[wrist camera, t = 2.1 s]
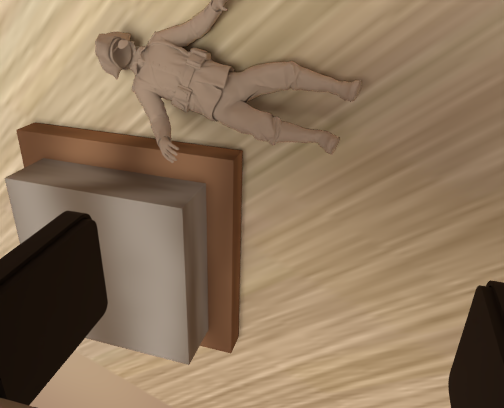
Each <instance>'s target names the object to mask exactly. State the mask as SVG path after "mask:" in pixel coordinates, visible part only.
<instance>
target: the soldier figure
mask: <svg viewBox="0 0 504 408" xmlns="http://www.w3.org/2000/svg"><path fill="white" fill-rule="evenodd" d="M226 2H227V0H212V1H211V2H210V3H209V4H208V5H207V6H206V7H205V8H204V9H203V10H202V11H201V12H199V13H198V14H197V15H195V16H194V17H193V18H192V19H190V20H188V21H187V22H185V23H183V24H181V25H176V26H174V27H171V28H167V29H164V30H162V31H158V32H156V31H155V32H154V34H153V35H152V37H151V39H150V40H149V42H148V45H146V46H142V47H140V46H139V47H138V46H137V47H138V49H137V52H136V48H137V47H135V45H134V44H133V42H134V41H132V42H131V41H130V37H131V34H130V33H121V32H110V33H107V34H99V35H98V38H97V39H96V41H95V45H96V48H95V53H96V55H97V57H98V59H99V62H100V64H101V66H102V68H103V69H104V70H105V71H106V72H107V73H109V74H111V75H113V76H114V77H115V78H116V79H118V77H119V73H120V71H121V70H122V69H124V70H127V69H131V70H132V71H133V72H134V74H135V79H134V82H133V86H132V91H133V92H134V93H135V94H136V96H137V98H138V100H139V101H140V103H141V105H142V106H143V108H144V111H145V113H146V114H147V116H148V117H149V120H150V123H151V128H152V130H153V132H154V135H155V138H156V141H157V144H158V146H159V148H160V150H161V152H162V155H163V156H164V158H166V159H167V160H168V161H170V162H171V163H174V161H177V159H176V158H175V157H174V156H173V155H172V154H174V155H176V156H177V153H176V152H175V151H174V150H172V149H171V147H172V148H174V149H176V150H179V148H178V147H177V146H175V145H173V144H172V141H171V125H170V122H169V117H168V115H167V113H166V109H165V107H164V103H163V101H162V100H161V98H165V99H168V100H172V105H174V106H176V107H178V108H179V109H181V110H183V111H184V112H187V111H188V110H189V109H190V110H192V111H193V112H197V113H200V114H203V115H204V116H205V117H207V118H208V119H210V120H212V121H219V122H220V123H222V124H223V125H225V126H227V127H230V128H232V129H235V130H237V131H238V132H241V133H245V134H252V135H253V136H254V138H256V139H257V140H262V141H269V143H270V144H271V145H275V144H276V143H278V142H302V143H308V142H312V143H313V142H316V143H318V144H319V145H320V146H321V147H322V148H324V150H325V151H326V152H327V153H330V154H333V152H334V151H335V149H336V147H337V145H338V143H339V140H340V137H338V138H337V136H336V135H333V134H332V133H329V132H328V131H322V130H314V129H306V128H303V127H300V126H298V125H295V124H292V123H288V122H284V121H282V120H281V119H280V118H279V117H273V115H272V114H271V113H268V112H264V111H260V110H258V109H254V108H252V107H251V106H250V105H249V104H247V103H246V102H247V101H249V100H251V99H253V98H256V97H258V96H261V95H262V94H268V93H273V92H277V91H279V90H288V89H289V88H290V87H291V88H292V90H307V91H317V92H330V93H332V94H336V95H339V96H340V98H342V99H344V100H348V101H350V102H351V101H354V100H355V99H356V97H357V95H358V93H359V91H360V89H361V86H362V81H358V80H355V81H353V82H347V81H337V80H336V79H333V78H332V77H329V76H325V75H322V74H319V73H316V72H314V71H311V70H309V69H307V68H304V67H301V66H299V65H298V64H296V63H295V62H293V61H289V62H271V63H264V64H260V65H256V66H252V67H250V68H248V69H246V70H244V71H242V72H238V73H237V72H235V70H234V68H233V67H231V66H228V65H222V64H219V63H216V62H214V61H212V60H211V53H210V52H207V51H204V50H201V49H198V48H192V49H191V52H190V51H189V52H188V51H186V50H185V49H183V48H182V47H185V46H188V45H189V44H190V43H192V42H194V41H195V40H196V39H200V38H201V37H203V35H204V34H206V33H207V32H208V31H209V30H210V28H211V27H212V25H213V24H214V23H215V21H216V20H217V18H218V16H219V15H220V14H221V13H222V12H223V11H227V8H225V7H224V5H225V3H226ZM243 101H244V102H243ZM173 160H174V161H173Z"/></svg>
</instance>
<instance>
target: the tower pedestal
mask: <svg viewBox="0 0 504 408" xmlns="http://www.w3.org/2000/svg"><path fill="white" fill-rule="evenodd" d="M17 135H18V140H19V145H20V149H21V154H22V159H23V164H24V168H23V169H22V170H20V171H18V172H16V173H14V174H12V175H10V176H8V177H6V178H5V181H6V186H7V190H8V194H9V198H10V203H11V207H12V211H13V216H14V220H15V224H16V228H17V233H18V237H19V241H20V244H21V243H23V242H24V241H25V240H27V239H28V238H29V237H31V236H32V235H33V234H35V233H36V232H37V231H39V230H40V229H41V228H43V227H44V226H45V225H47V224H48V223H49V222H51V221H52V220H53V219H55V218H56V217H57V216H59V215H60V214H61V213H63V212H65V211H75V212H81V213H87V214H89V215H90V216H91V218H92V220H94V221H95V222H96V224H97V229H98V236H99V243H100V250H101V257H102V264H103V271H104V278H105V285H106V292H107V299H108V305H107V309H106V312H105V314H104V315H103V317H102V318H101V319H100V320H99V321H98V323H97V324H96V325H95V326H94V327H93V329H92V330H91V331H90V332H89V334H88V335H87V336H86V337H85V338H87V339H91V340H95V341H99V342H103V343H107V344H110V345H114V346H118V347H122V348H126V349H130V350H134V351H137V352H141V353H145V354H149V355H153V356H157V357H161V358H164V359H168V360H172V361H176V362H180V363H184V364H188V365H189V364H190V362H191V360H192V359H193V357H194V355H195V353H196V351H197V349H198V348H199V346H204V347H208V348H212V349H216V350H220V351H224V352H228V353H231V352H232V350H233V348H234V346H235V343H236V341H237V339H238V334H239V289H240V243H241V198H242V153H243V151H242V150H234V149H227V148H219V147H212V146H204V145H197V144H190V143H182V142H175V141H172V144H173V145H175V146H177V147H178V148H179V150H176V149H174V148H172V147H171V149H172V150H174V151H175V152H176V153H177V156H176V155H174V154H172V155H173V156H174V157H175V158H176V159H177V161H174V160H173V161H174V163H171V162H170V161H168V160H167V159H166V158H164V156H163V155H162V152H161V150H160V148H159V146H158V144H157V141H156V139H152V138H145V137H138V136H130V135H123V134H115V133H108V132H101V131H93V130H86V129H78V128H71V127H63V126H56V125H49V124H41V123H32V124H30V125H27V126H25V127H23V128H20V129H18V130H17Z"/></svg>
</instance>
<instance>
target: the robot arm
mask: <svg viewBox="0 0 504 408" xmlns="http://www.w3.org/2000/svg"><path fill="white" fill-rule="evenodd" d="M107 305H108V299H107V292H106V285H105V278H104V271H103V264H102V257H101V250H100V243H99V236H98V229H97V224H96V222H95V221H94V220H92V218H91V216H90V215H89V214H87V213H81V212H75V211H65V212H63V213H61V214H60V215H59V216H57V217H56V218H55V219H53V220H52V221H51V222H49V223H48V224H47V225H45V226H44V227H43V228H41V229H40V230H39V231H37V232H36V233H35V234H33V235H32V236H31V237H29V238H28V239H27V240H25V241H24V242H23V243H21V244H20V245H18V246H17V247H16V248H14V249H13V250H12V251H10V252H9V253H8V254H6V255H5V256H4V257H2V258H1V259H0V408H36V407H32V406H29V405H30V403H31V402H32V401H33V400H34V399H35V398H36V396H37V395H38V394H39V393H40V391H41V390H42V389H43V388H44V387H45V386H46V384H47V383H48V382H49V381H50V379H51V378H52V377H53V376H54V375H55V373H56V372H57V371H58V370H59V369H60V367H61V366H62V365H63V364H64V363H65V361H66V360H67V359H68V358H69V357H70V355H71V354H72V353H73V352H74V350H75V349H76V348H77V347H78V346H79V344H80V343H81V342H82V341H83V340H84V338H85V337H86V336H87V335H88V334H89V332H90V331H91V330H92V329H93V327H94V326H95V325H96V324H97V323H98V321H99V320H100V319H101V318H102V317H103V315H104V314H105V312H106V309H107ZM449 396H450V403H451V408H504V283H502V282H496V281H489V282H488V283H487V285H486V286H480V285H479V286H478V287H477V289H476V292H475V295H474V298H473V301H472V304H471V308H470V311H469V314H468V317H467V320H466V324H465V327H464V330H463V333H462V336H461V339H460V343H459V346H458V349H457V352H456V355H455V359H454V362H453V365H452V368H451V371H450V375H449Z"/></svg>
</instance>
